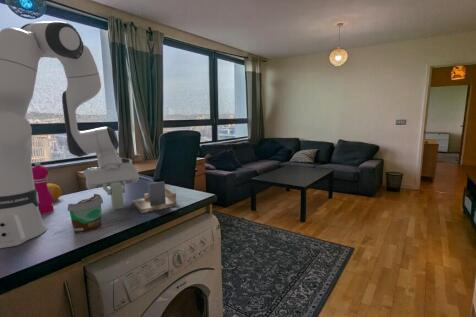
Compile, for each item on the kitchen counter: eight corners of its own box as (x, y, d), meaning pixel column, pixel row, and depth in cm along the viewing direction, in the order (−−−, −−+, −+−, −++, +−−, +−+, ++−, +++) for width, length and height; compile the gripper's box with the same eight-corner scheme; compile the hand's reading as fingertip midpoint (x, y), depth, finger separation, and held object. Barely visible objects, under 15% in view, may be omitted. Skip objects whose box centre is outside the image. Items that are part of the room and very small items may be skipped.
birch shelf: (141, 213, 103) (140, 199, 103) (132, 203, 115) (131, 191, 114) (176, 205, 111) (175, 192, 110) (165, 197, 123) (164, 185, 122)
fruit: (52, 197, 126) (50, 181, 125) (66, 198, 124) (64, 181, 123) (34, 203, 118) (31, 185, 117) (48, 205, 116) (45, 186, 114)
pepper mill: (37, 209, 110) (30, 161, 107) (57, 207, 112) (51, 159, 109) (29, 215, 103) (22, 164, 100) (51, 213, 105) (44, 162, 102)
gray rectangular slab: (150, 206, 106) (149, 184, 105) (150, 205, 107) (148, 183, 106) (165, 203, 110) (164, 181, 108) (164, 202, 111) (163, 181, 109)
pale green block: (114, 209, 108) (111, 185, 106) (112, 206, 112) (109, 182, 110) (123, 207, 110) (121, 183, 108) (121, 204, 114) (119, 181, 112)
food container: (87, 236, 84) (83, 205, 83) (70, 235, 85) (66, 204, 84) (113, 221, 96) (110, 194, 95) (97, 220, 97) (95, 193, 96)
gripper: (82, 164, 108) (87, 193, 102) (135, 159, 120) (142, 184, 113) (82, 173, 113) (87, 201, 106) (133, 167, 124) (140, 192, 118)
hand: (116, 193), depth 110 cm, fingers closed on pale green block, 4 cm apart
